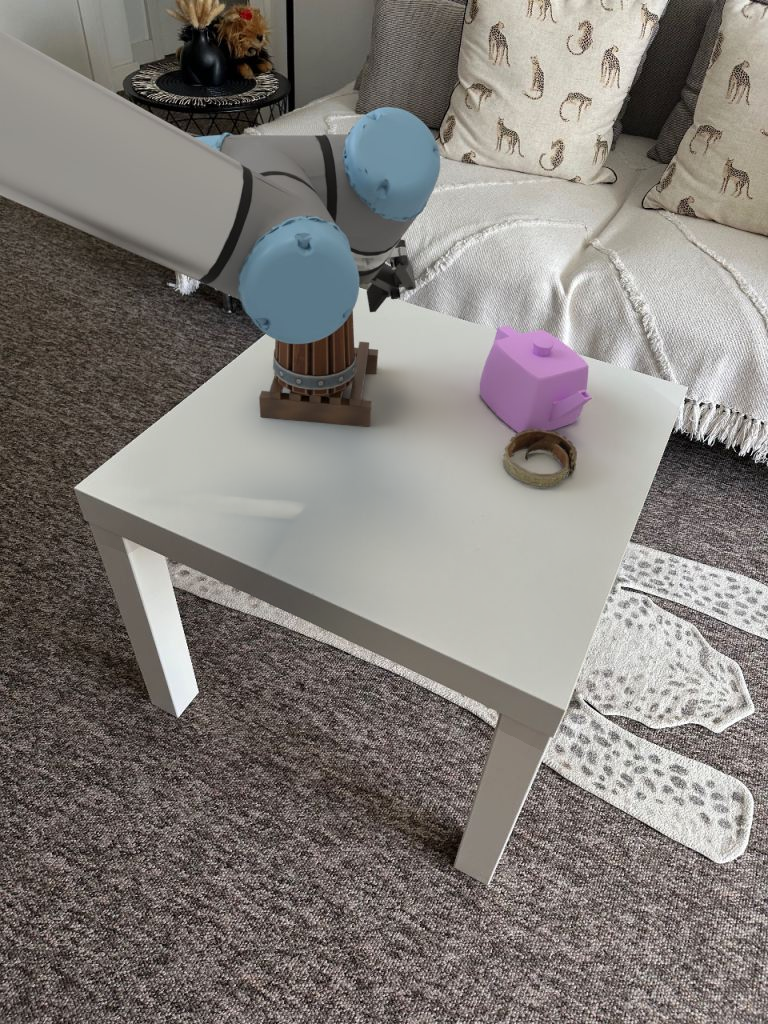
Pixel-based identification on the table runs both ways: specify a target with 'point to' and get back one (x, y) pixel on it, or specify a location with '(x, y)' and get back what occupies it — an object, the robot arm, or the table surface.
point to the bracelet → (536, 441)
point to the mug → (317, 363)
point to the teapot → (534, 380)
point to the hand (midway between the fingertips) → (318, 305)
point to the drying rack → (325, 398)
